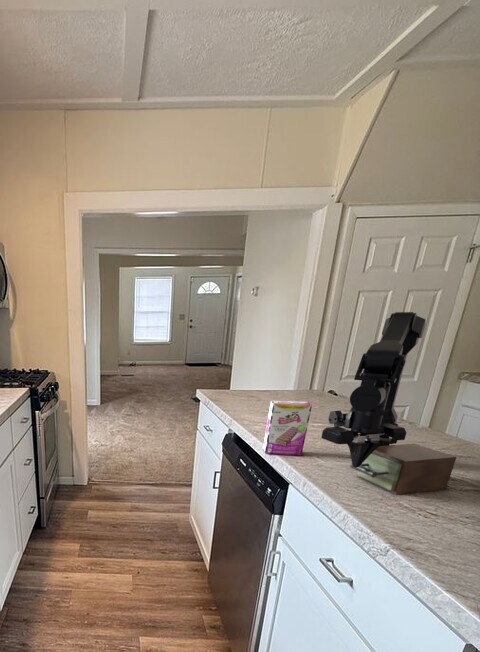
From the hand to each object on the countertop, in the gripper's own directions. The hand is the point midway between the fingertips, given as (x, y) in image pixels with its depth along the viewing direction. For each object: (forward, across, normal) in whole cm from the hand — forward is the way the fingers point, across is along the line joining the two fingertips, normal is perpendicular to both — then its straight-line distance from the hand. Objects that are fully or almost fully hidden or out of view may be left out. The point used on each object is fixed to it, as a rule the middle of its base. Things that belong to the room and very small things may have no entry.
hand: (355, 466), depth 100 cm
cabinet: (+6, -15, 0) cm, 16 cm away
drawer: (+5, -11, 0) cm, 12 cm away
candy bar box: (+6, 0, -29) cm, 30 cm away
